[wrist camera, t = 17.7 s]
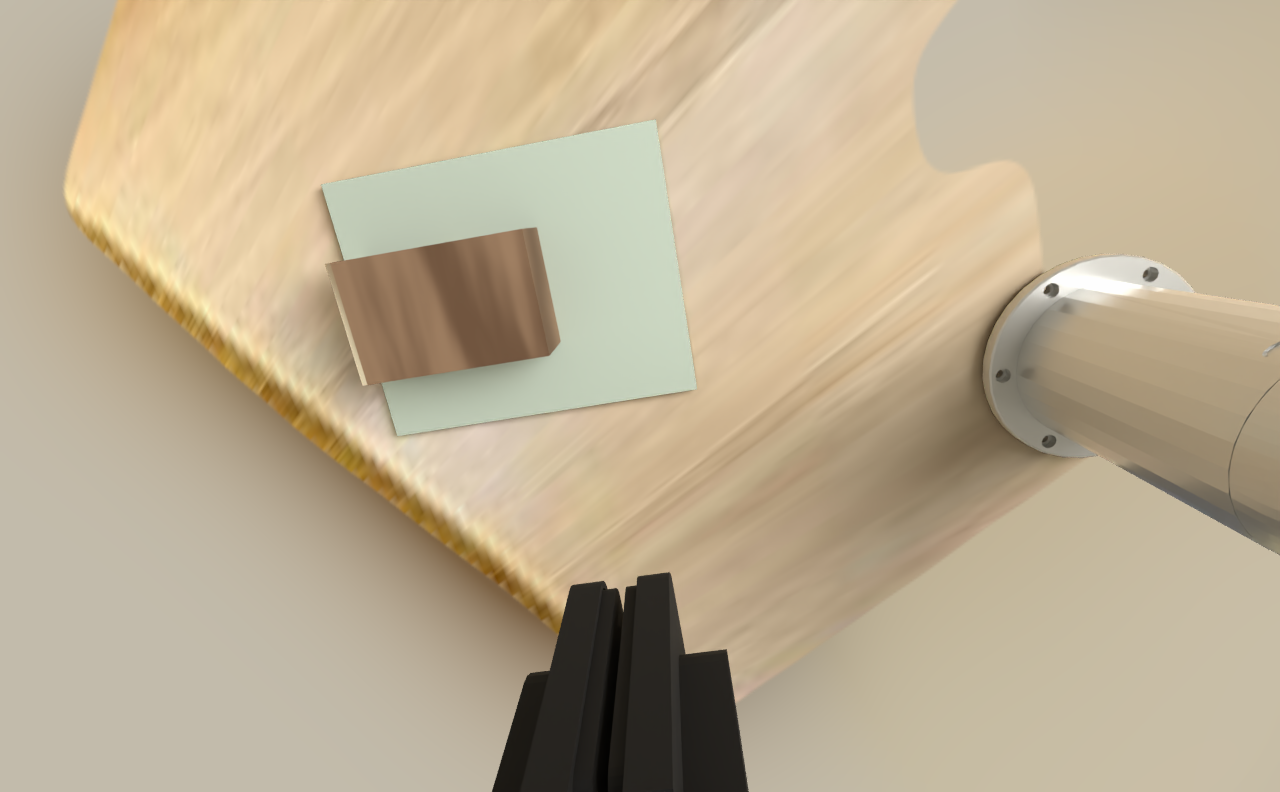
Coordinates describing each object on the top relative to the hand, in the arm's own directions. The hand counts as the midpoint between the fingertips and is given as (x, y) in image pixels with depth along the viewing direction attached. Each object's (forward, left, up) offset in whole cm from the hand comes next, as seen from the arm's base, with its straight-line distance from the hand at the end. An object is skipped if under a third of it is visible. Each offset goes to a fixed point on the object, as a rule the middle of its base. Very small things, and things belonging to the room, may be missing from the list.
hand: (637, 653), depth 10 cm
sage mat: (+8, -4, -29) cm, 30 cm away
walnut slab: (+6, -4, -27) cm, 28 cm away
